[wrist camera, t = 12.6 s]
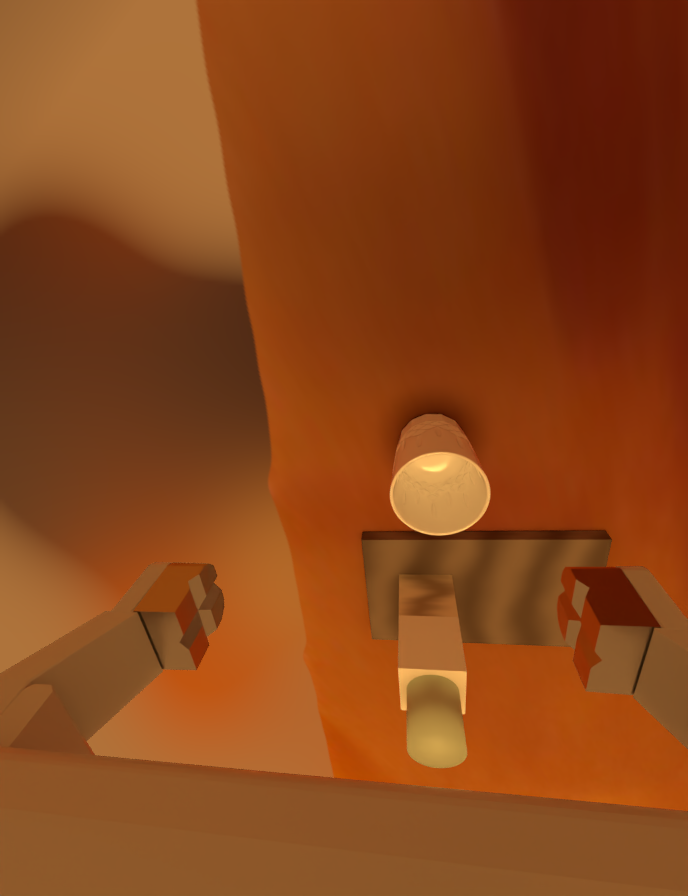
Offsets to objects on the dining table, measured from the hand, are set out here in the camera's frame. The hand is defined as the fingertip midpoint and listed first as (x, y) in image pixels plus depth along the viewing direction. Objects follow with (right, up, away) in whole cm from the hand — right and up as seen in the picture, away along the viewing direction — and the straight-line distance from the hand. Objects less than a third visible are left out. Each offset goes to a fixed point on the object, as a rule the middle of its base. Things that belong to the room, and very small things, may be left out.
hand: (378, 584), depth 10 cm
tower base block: (+9, -14, +39) cm, 42 cm away
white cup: (+8, +4, +32) cm, 33 cm away
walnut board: (+15, -13, +39) cm, 44 cm away
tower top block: (+8, -17, +33) cm, 38 cm away
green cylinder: (+7, -19, +28) cm, 35 cm away
